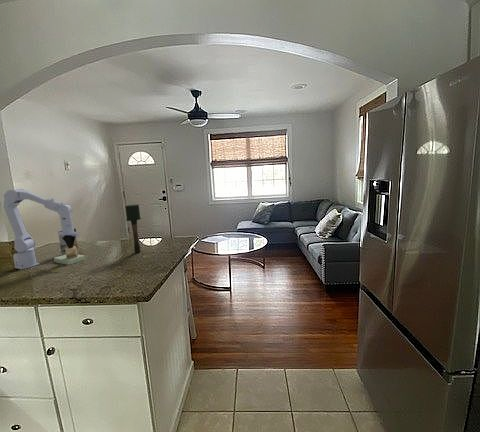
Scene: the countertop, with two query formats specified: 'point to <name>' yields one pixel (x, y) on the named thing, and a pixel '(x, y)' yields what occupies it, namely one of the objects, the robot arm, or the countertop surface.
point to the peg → (71, 252)
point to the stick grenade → (134, 223)
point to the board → (64, 259)
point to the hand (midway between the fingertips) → (70, 247)
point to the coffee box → (64, 245)
